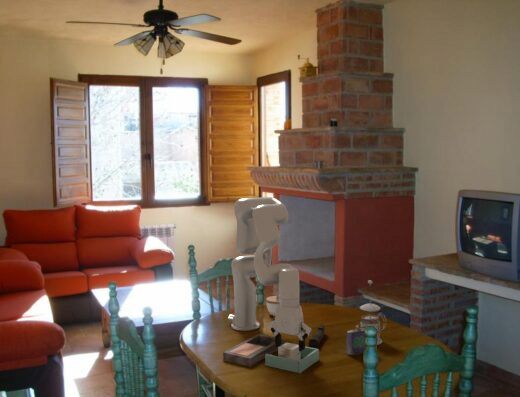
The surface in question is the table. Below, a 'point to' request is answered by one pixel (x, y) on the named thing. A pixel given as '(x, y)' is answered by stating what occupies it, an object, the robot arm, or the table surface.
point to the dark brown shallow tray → (251, 350)
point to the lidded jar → (272, 304)
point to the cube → (289, 351)
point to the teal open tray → (293, 365)
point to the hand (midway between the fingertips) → (290, 348)
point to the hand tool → (317, 337)
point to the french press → (371, 317)
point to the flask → (355, 341)
